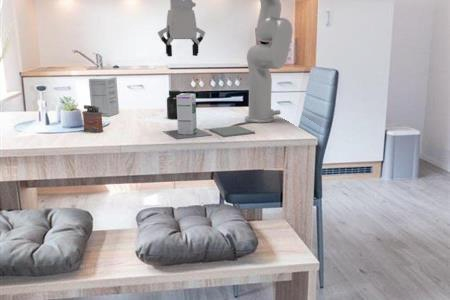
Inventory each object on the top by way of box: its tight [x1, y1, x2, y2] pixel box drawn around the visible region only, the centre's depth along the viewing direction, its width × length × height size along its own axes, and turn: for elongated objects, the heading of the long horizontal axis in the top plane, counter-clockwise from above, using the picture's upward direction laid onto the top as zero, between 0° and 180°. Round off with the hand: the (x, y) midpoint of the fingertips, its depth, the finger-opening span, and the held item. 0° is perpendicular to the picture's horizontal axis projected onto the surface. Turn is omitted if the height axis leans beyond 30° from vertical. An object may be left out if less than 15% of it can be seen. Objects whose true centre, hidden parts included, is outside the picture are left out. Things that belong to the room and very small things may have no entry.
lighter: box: [82, 104, 104, 134], centre depth 171 cm, size 8×3×10 cm, turn 71°
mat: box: [208, 125, 256, 138], centre depth 171 cm, size 13×13×1 cm
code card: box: [162, 127, 213, 140], centre depth 168 cm, size 14×14×1 cm
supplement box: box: [88, 76, 120, 117], centre depth 206 cm, size 10×9×17 cm
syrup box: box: [176, 92, 198, 135], centre depth 167 cm, size 6×6×14 cm
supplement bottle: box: [166, 89, 181, 120], centre depth 198 cm, size 7×7×12 cm
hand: (182, 56), depth 162 cm, fingers open, 9 cm apart
